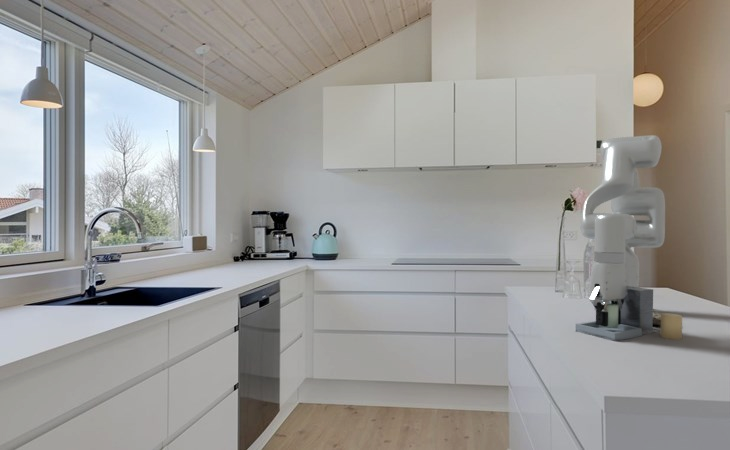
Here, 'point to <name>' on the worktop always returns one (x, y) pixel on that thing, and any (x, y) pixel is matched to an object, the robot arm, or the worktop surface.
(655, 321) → the rock
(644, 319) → the panel
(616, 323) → the mint green rounded cylinder
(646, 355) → the worktop surface
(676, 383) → the worktop surface
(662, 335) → the tan rounded capsule
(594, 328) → the tray
